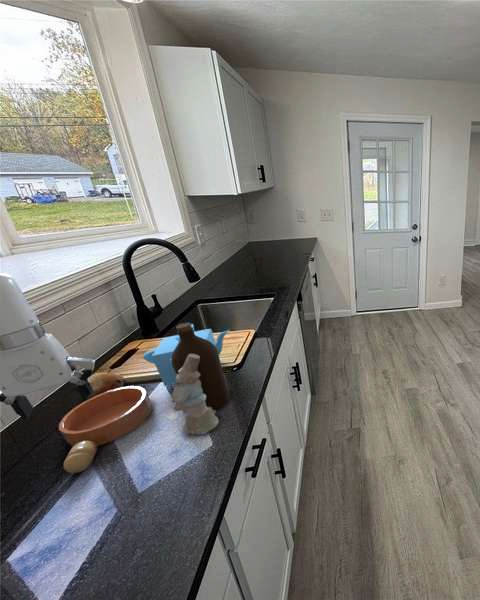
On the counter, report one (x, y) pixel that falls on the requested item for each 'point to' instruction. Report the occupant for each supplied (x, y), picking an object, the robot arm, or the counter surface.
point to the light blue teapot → (166, 349)
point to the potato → (80, 456)
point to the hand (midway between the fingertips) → (59, 405)
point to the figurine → (193, 399)
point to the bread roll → (104, 383)
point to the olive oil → (202, 365)
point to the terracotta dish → (106, 416)
